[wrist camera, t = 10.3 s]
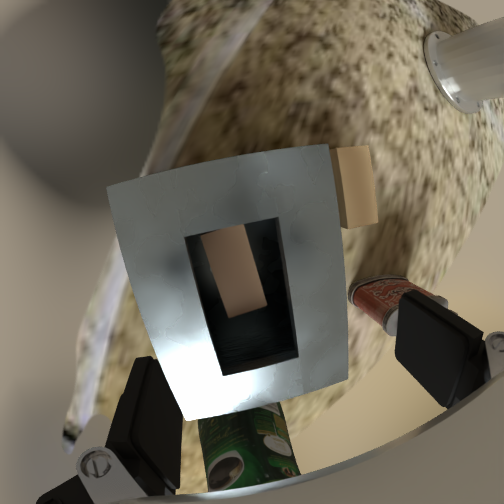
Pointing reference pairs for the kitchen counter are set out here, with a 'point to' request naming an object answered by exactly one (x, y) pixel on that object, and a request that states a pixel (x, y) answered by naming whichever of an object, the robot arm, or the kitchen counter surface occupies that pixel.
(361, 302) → the lighter
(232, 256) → the walnut tile
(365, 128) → the kitchen counter surface
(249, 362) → the grey slotted box
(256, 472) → the coffee jar
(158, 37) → the kitchen counter surface
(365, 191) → the honey tile
